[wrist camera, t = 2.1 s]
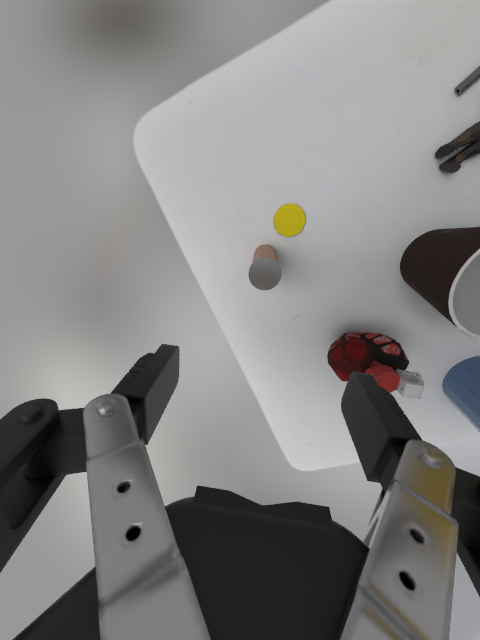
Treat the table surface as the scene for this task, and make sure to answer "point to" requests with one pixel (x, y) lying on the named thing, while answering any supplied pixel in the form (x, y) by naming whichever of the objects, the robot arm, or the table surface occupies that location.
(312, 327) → the table surface
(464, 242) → the coffee mug
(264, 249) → the orange and grey cylinder
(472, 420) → the cup
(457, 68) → the table surface
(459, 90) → the rod
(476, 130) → the character figure
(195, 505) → the robot arm
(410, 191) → the table surface
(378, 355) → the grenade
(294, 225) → the disc
